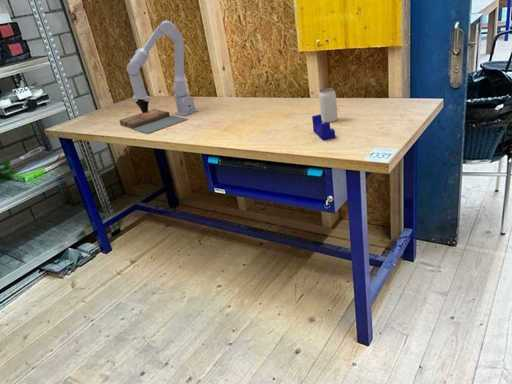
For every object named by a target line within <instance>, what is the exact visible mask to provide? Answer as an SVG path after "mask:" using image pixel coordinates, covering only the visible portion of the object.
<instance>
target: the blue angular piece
mask: <svg viewBox="0 0 512 384" xmlns="http://www.w3.org/2000/svg"><path fill="white" fill-rule="evenodd" d="M311 119H312V120H311V121H312V129H313V132H314V134H316V135H317V137H319V139H321V141H328V140H333V139H336V130H335V129H334V128H331V122H330V123H329V122H322V119H321V114H316V115H312V116H311Z"/></svg>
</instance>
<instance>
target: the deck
mask: <svg viewBox="0 0 512 384" xmlns="http://www.w3.org/2000/svg"><path fill="white" fill-rule="evenodd" d="M151 110H152V111H156V112H158V115H159V116H156V117H153V118H150V119H145V118H142V117H141V114H142V112H140V113H137V114H133V115H132V116H128V117H126V118H125V117H124V118H123V119H122V118H121V119H119V125H120V126H123V127H126V128H129V129H132V130H133V129H134V128H137V127H139V126H142V125H145V124H148V123H151V122H154V121H157V120H160V119H163V118H166V117H169V116H171V115H170V111H166V110H160V109H155V108H153V109H150V110H149V111H151Z"/></svg>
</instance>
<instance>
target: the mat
mask: <svg viewBox="0 0 512 384" xmlns="http://www.w3.org/2000/svg"><path fill="white" fill-rule="evenodd" d="M188 120H189V118H185V117H182V116H181V117H180V116H176V115H170V116H169V117H166V118H163V119H160V120H157V121H154V122H151V123H148V124H145V125H142V126H139V127H137V128H134V129H132V131H136V132H139V133H143V134H147V135H149V134H153V133H155V132H158V131H161V130H163V129H167V128H169V127H172V126H175V125H177V124H180V123H182V122H185V121H188Z"/></svg>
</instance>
